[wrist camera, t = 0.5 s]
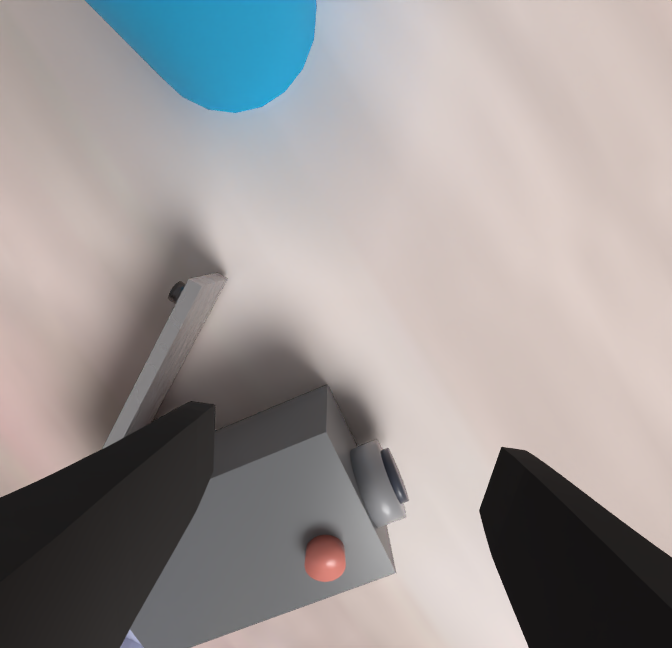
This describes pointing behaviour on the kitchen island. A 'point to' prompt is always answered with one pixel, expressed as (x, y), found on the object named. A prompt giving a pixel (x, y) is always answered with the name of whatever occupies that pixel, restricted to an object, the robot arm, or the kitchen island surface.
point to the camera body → (277, 525)
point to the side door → (168, 352)
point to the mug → (218, 45)
